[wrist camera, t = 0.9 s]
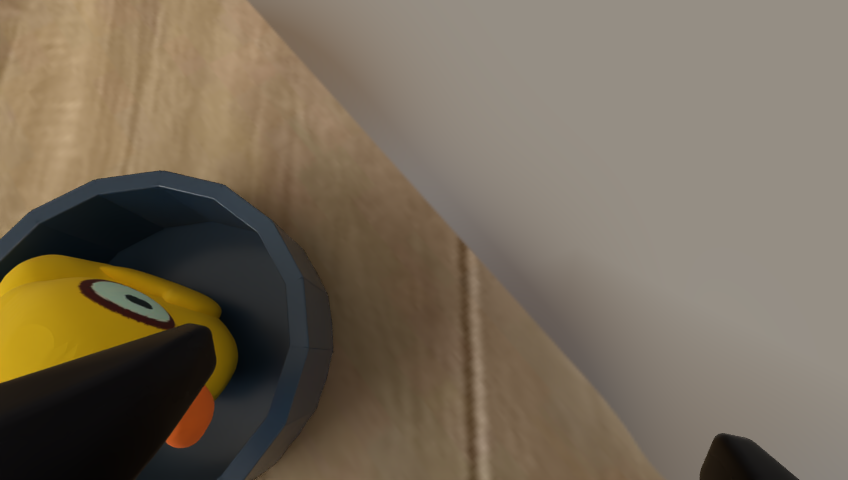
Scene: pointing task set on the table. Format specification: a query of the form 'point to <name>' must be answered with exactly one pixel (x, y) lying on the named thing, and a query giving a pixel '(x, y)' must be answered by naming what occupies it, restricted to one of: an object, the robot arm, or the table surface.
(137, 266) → the pot
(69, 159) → the table surface
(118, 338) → the duckling
